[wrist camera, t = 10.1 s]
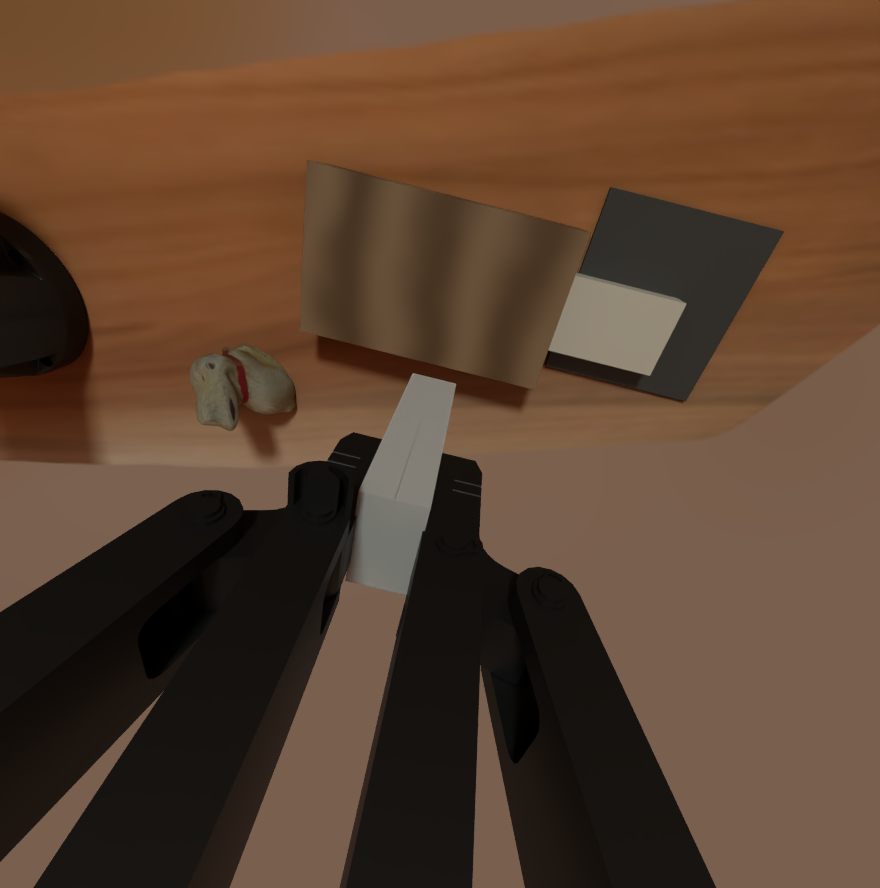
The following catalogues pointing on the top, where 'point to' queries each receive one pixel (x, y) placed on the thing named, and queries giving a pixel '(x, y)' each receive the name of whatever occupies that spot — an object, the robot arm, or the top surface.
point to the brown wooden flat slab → (433, 275)
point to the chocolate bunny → (239, 386)
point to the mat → (674, 280)
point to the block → (615, 324)
